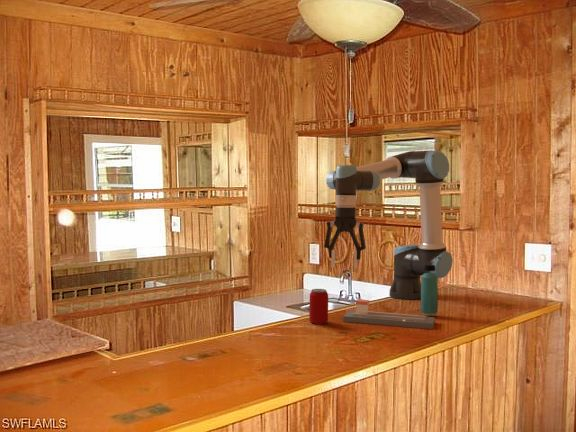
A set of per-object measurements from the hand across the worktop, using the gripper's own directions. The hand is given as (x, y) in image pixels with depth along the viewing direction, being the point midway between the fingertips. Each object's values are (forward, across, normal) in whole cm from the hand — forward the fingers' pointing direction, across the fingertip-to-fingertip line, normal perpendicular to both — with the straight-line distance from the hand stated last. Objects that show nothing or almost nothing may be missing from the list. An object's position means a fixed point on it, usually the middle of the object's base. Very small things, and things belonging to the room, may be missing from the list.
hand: (344, 267), depth 228 cm
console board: (+19, +17, 0) cm, 26 cm away
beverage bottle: (+19, +30, +15) cm, 39 cm away
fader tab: (+17, +7, 0) cm, 19 cm away
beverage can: (+19, -7, -10) cm, 23 cm away
